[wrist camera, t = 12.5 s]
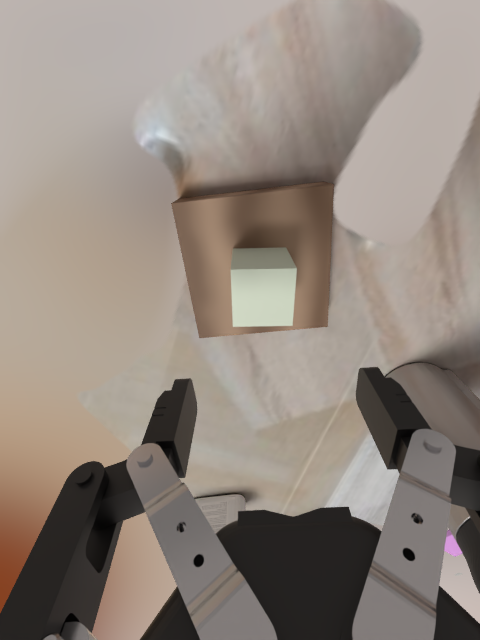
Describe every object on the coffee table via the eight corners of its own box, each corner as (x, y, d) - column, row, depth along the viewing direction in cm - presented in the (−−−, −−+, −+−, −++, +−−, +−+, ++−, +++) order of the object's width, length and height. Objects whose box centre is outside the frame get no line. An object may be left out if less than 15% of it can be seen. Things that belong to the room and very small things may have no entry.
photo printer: (195, 510, 55) (183, 595, 44) (188, 497, 53) (174, 583, 42) (247, 503, 54) (249, 589, 43) (242, 490, 52) (242, 577, 41)
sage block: (286, 247, 27) (296, 268, 22) (283, 296, 29) (292, 325, 24) (232, 248, 27) (230, 269, 22) (234, 297, 30) (232, 326, 24)
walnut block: (322, 181, 28) (333, 184, 24) (318, 309, 35) (327, 326, 31) (179, 198, 29) (171, 203, 25) (203, 320, 35) (199, 338, 32)
